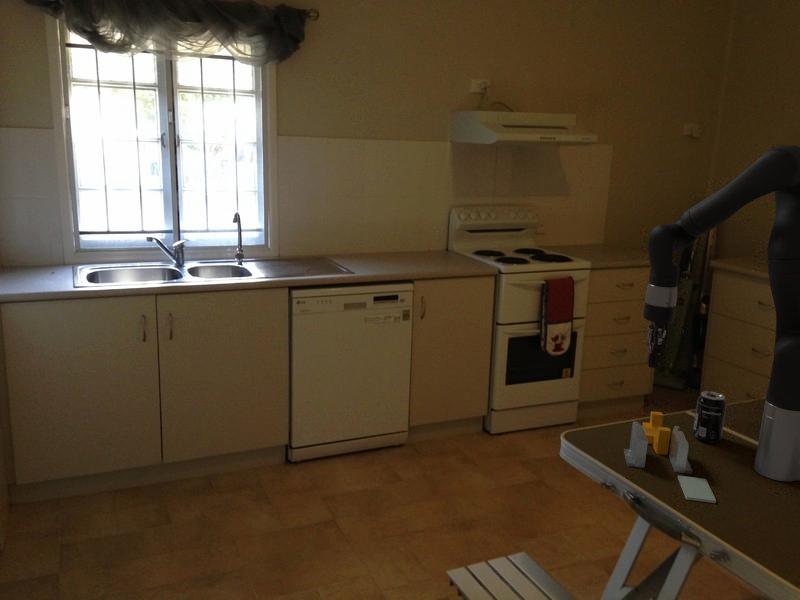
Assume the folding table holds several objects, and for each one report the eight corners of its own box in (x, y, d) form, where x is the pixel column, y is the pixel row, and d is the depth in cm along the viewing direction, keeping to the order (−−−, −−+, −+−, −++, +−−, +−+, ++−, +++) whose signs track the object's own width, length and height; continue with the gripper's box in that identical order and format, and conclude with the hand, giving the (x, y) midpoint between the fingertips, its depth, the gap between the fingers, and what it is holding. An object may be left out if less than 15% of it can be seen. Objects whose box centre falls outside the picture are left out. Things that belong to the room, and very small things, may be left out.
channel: (682, 453, 176) (686, 426, 175) (691, 473, 166) (696, 445, 164) (622, 446, 179) (625, 420, 177) (627, 466, 168) (630, 438, 166)
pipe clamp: (641, 433, 187) (644, 410, 186) (658, 435, 187) (661, 412, 185) (648, 453, 176) (652, 429, 174) (667, 455, 175) (670, 431, 174)
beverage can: (701, 431, 190) (707, 388, 187) (725, 440, 185) (732, 396, 182) (686, 437, 186) (693, 393, 183) (711, 446, 181) (718, 402, 178)
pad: (705, 481, 162) (705, 478, 162) (715, 503, 153) (716, 500, 153) (677, 477, 163) (677, 475, 163) (686, 499, 154) (686, 496, 154)
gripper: (680, 309, 176) (671, 376, 180) (671, 297, 189) (662, 359, 193) (649, 306, 177) (640, 373, 181) (641, 295, 190) (633, 357, 194)
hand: (652, 366), depth 187 cm, fingers closed
